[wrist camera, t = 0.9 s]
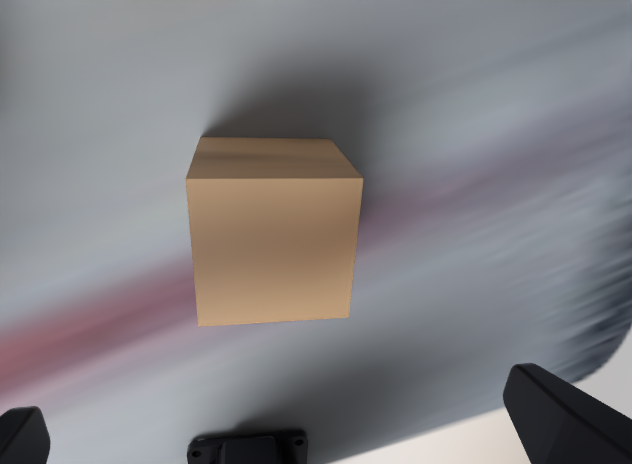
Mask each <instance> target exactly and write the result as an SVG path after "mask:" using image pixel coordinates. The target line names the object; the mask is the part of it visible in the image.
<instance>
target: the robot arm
mask: <svg viewBox="0 0 632 464" xmlns="http://www.w3.org/2000/svg"><path fill="white" fill-rule="evenodd" d="M503 400H504V404H505V407H506V409H507V411H508V413H509V416H510V418H511V420H512V422H513V425H514V427H515V429H516V431H517V433H518V436H519V438H520V440H521V442H522V444H523V447H524V449H525V451H526V453H527V456H528V458H529V460H530V462H531V464H632V419H630V418H628V417H627V416H625V415H623V414H622V413H620V412H618V411H616V410H615V409H613V408H611V407H609V406H608V405H606V404H604V403H602V402H601V401H599V400H597V399H596V398H594V397H592V396H590V395H588V394H587V393H585V392H583V391H582V390H580V389H578V388H576V387H575V386H573V385H571V384H569V383H568V382H566V381H564V380H562V379H561V378H559V377H557V376H555V375H554V374H552V373H550V372H548V371H547V370H545V369H543V368H542V367H540V366H538V365H536V364H533V363H524V364H516V365H514V366H513V367H512V368H511V370H510V373H509V376H508V379H507V382H506V385H505V388H504V392H503ZM307 450H308V438H307V433H306V432H305V431H303V430H295V431H286V432H276V433H267V434H258V435H248V436H239V437H229V438H220V439H211V440H201V441H194V442H192V443H190V444H189V445H188V450H187V460H188V464H307ZM49 452H50V436H49V433H48V430H47V427H46V424H45V421H44V418H43V414H42V412H41V410H40V408H38V407H36V406H30V407H18V408H12V409H10V410H8V411H7V412H5V413H4V414H3V415H1V416H0V464H46V462H47V459H48V455H49Z"/></svg>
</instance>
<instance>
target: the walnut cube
mask: <svg viewBox="0 0 632 464" xmlns="http://www.w3.org/2000/svg"><path fill="white" fill-rule="evenodd" d="M363 179H364V178H363V177H362V176H361V175H360V174H359V172H358V171H357V170H356V169H355V168H354V166H353V165H352V164H351V163H350V162H349V160H348V159H347V158H346V157H345V156H344V155H343V153H342V152H341V151H340V150H339V149H338V147H337V146H336V145H335V144H334V143H333V141H332V140H331V139H300V138H233V137H200V140H199V143H198V145H197V148H196V151H195V154H194V157H193V160H192V162H191V165H190V168H189V171H188V174H187V177H186V188H187V200H188V211H189V223H190V234H191V246H192V258H193V269H194V281H195V292H196V304H197V315H198V327H201V326H217V325H234V324H250V323H266V322H282V321H299V320H315V319H331V318H347V317H349V309H350V300H351V291H352V281H353V272H354V263H355V253H356V244H357V235H358V225H359V216H360V207H361V197H362V188H363Z"/></svg>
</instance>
